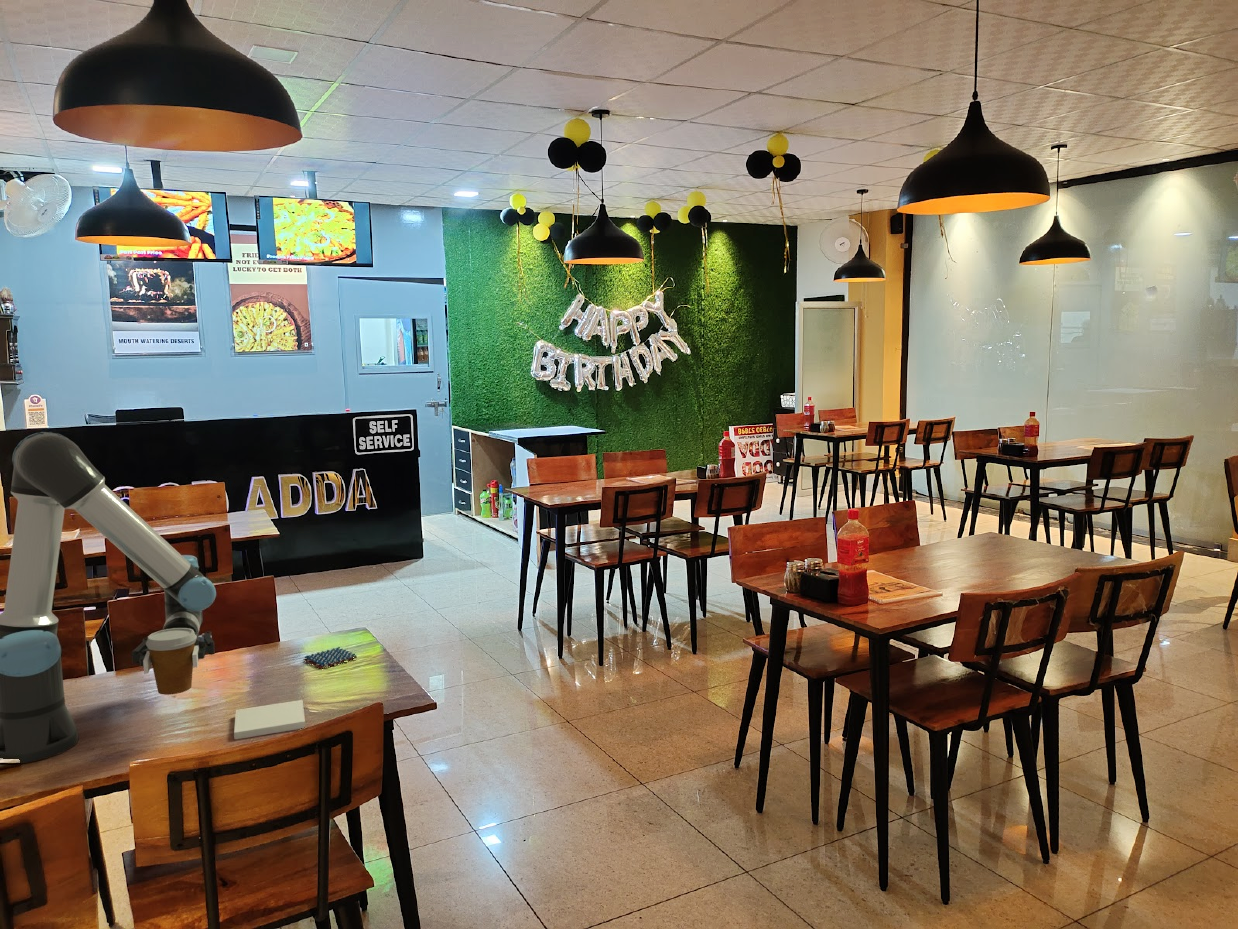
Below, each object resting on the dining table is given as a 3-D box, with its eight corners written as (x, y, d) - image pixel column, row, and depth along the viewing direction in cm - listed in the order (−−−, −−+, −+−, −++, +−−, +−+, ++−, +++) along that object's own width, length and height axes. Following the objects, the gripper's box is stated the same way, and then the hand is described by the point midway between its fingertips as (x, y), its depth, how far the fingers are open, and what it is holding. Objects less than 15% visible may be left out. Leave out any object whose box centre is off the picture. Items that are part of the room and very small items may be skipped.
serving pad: (234, 739, 181) (234, 732, 181) (236, 716, 193) (235, 710, 193) (305, 728, 186) (305, 721, 186) (302, 706, 198) (302, 699, 198)
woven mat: (301, 663, 228) (301, 655, 228) (338, 653, 236) (338, 646, 236) (321, 672, 221) (320, 665, 221) (358, 661, 229) (358, 654, 228)
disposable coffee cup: (179, 699, 176) (175, 642, 175) (138, 696, 178) (134, 639, 177) (209, 682, 185) (206, 628, 184) (171, 679, 187) (167, 626, 186)
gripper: (231, 642, 202) (228, 674, 181) (128, 654, 194) (112, 689, 173) (229, 611, 201) (225, 640, 180) (126, 622, 193) (110, 653, 172)
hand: (170, 664), depth 176 cm, fingers closed on disposable coffee cup, 8 cm apart
